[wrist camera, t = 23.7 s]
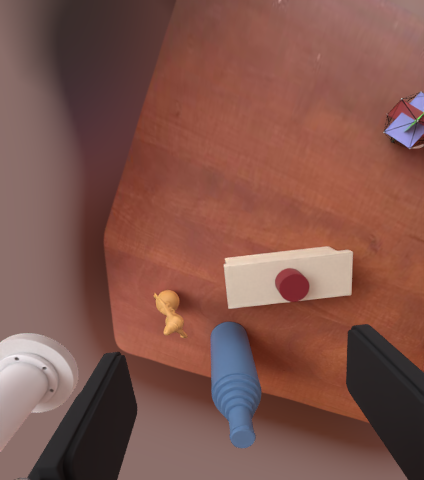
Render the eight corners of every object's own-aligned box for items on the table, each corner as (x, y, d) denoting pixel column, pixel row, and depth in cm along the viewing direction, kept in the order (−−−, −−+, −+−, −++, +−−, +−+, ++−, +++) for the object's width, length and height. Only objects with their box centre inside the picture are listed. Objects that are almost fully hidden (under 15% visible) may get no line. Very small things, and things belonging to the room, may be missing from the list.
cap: (269, 287, 35) (274, 295, 33) (283, 263, 34) (288, 269, 32) (294, 298, 36) (299, 306, 33) (308, 274, 35) (315, 281, 32)
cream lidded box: (225, 290, 42) (228, 308, 36) (221, 253, 40) (224, 266, 34) (330, 278, 42) (351, 295, 36) (331, 241, 40) (353, 251, 34)
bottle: (224, 359, 45) (234, 470, 28) (203, 334, 44) (200, 434, 26) (254, 341, 44) (284, 444, 27) (234, 315, 43) (252, 405, 26)
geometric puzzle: (366, 116, 33) (428, 130, 28) (404, 74, 32) (476, 80, 27) (372, 148, 38) (425, 164, 33) (404, 112, 37) (465, 124, 32)
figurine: (147, 283, 41) (124, 322, 30) (176, 267, 41) (164, 301, 29) (172, 318, 43) (159, 369, 31) (200, 304, 42) (197, 350, 31)
